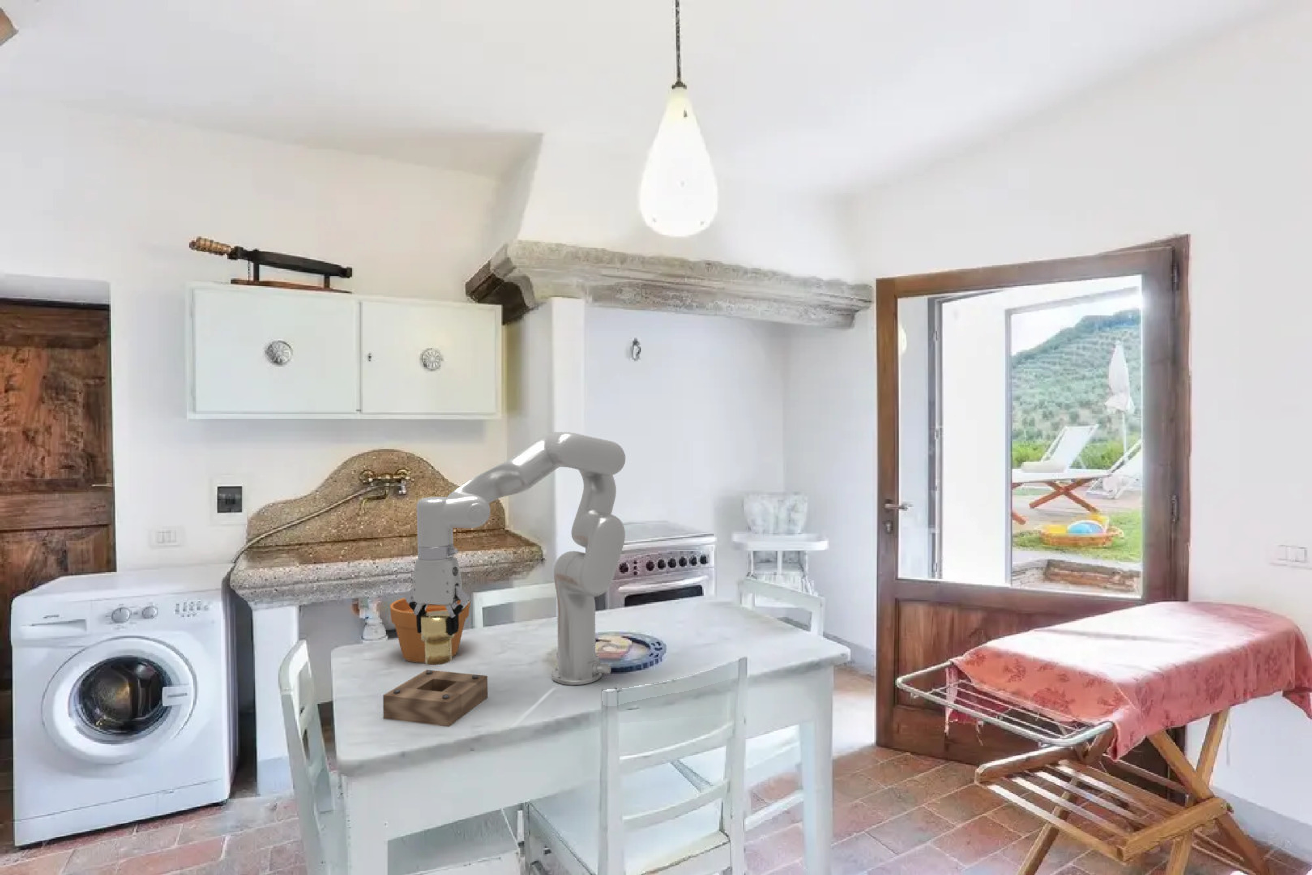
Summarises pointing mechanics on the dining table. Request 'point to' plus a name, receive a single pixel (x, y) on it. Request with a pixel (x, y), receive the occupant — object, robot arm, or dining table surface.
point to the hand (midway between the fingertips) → (437, 631)
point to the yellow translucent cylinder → (436, 637)
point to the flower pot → (408, 629)
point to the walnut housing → (435, 697)
